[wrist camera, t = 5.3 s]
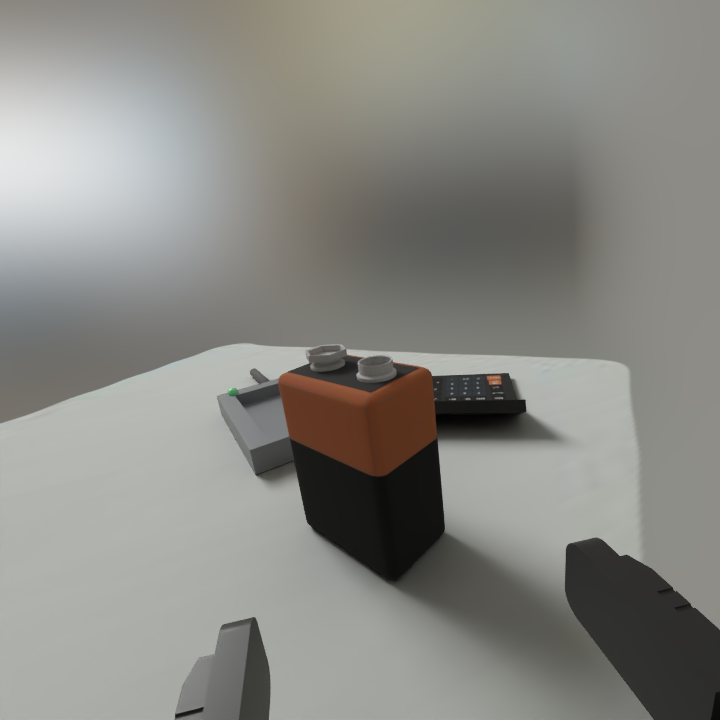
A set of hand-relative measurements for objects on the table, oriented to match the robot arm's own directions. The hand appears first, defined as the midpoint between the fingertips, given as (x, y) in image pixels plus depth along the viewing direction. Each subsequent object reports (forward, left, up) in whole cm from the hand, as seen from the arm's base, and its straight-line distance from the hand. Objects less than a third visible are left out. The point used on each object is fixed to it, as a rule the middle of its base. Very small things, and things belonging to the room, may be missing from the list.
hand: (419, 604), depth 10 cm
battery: (+10, +3, -6) cm, 12 cm away
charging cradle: (+29, +14, -6) cm, 33 cm away
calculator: (+25, -4, -7) cm, 26 cm away
